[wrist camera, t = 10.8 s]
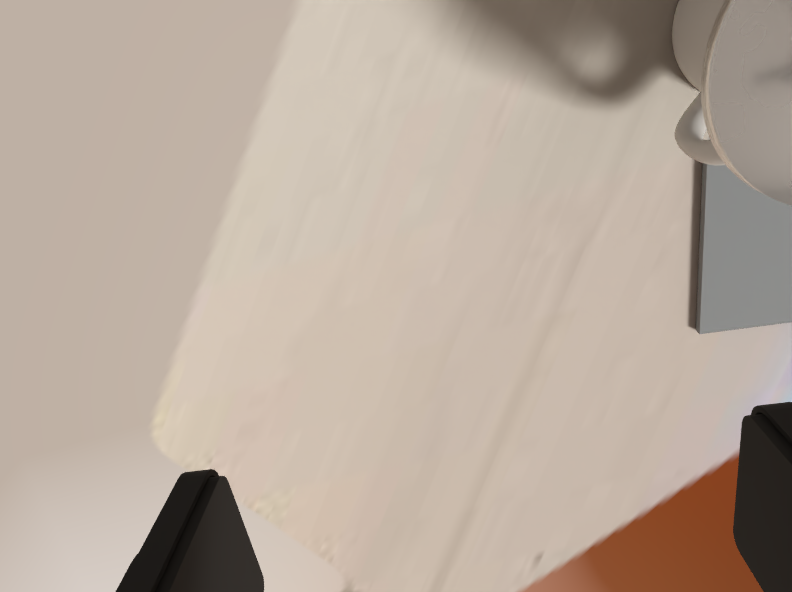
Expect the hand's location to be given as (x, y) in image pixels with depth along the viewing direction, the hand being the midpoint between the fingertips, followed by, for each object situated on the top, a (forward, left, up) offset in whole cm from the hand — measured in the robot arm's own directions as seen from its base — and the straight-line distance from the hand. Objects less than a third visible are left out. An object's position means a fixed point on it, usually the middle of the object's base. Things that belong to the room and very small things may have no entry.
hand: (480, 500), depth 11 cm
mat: (+8, +22, -28) cm, 37 cm away
